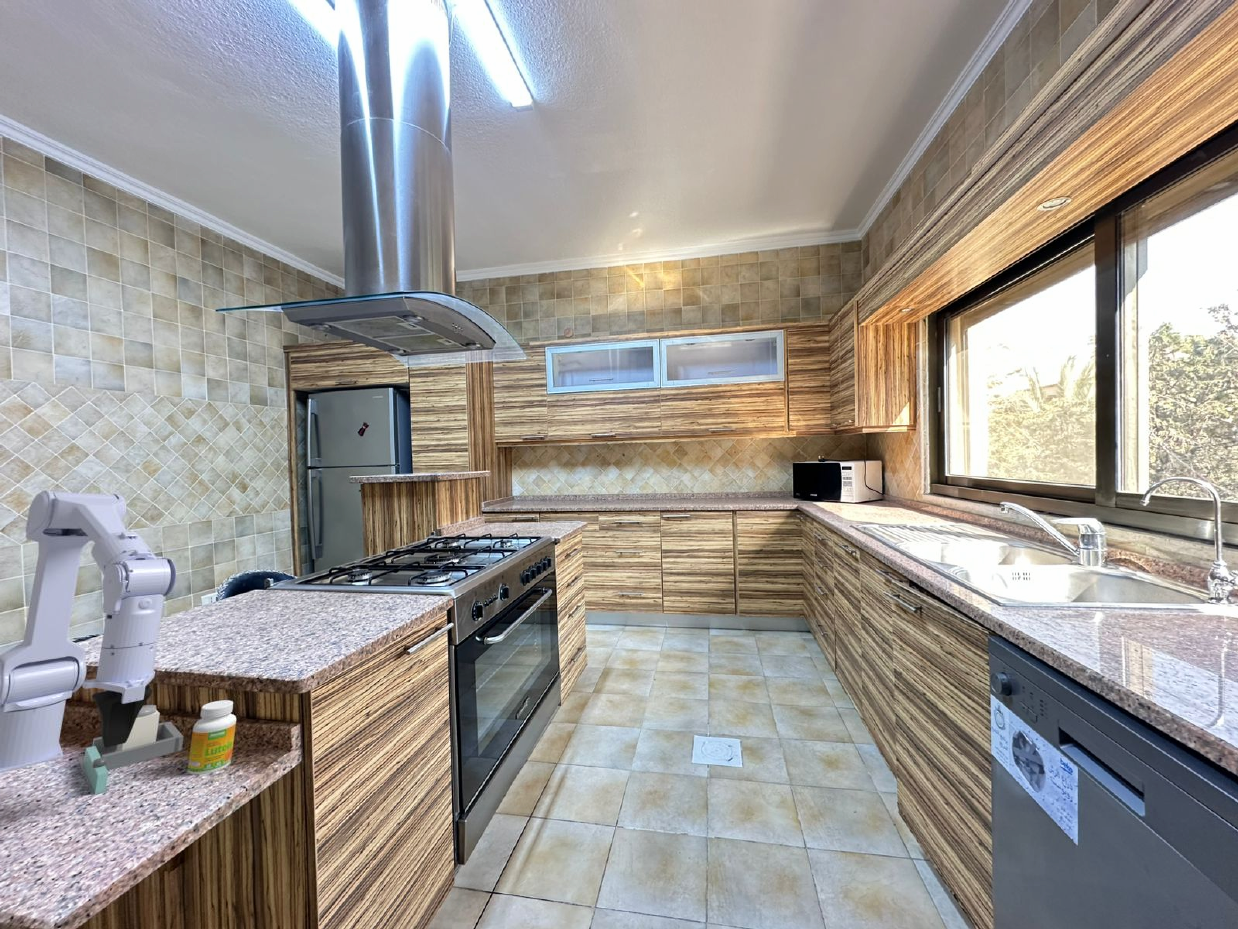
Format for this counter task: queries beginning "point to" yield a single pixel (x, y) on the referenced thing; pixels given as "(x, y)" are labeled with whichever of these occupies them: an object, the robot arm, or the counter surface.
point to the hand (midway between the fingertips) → (114, 744)
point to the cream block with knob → (143, 728)
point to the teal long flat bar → (96, 769)
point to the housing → (137, 750)
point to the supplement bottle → (212, 738)
